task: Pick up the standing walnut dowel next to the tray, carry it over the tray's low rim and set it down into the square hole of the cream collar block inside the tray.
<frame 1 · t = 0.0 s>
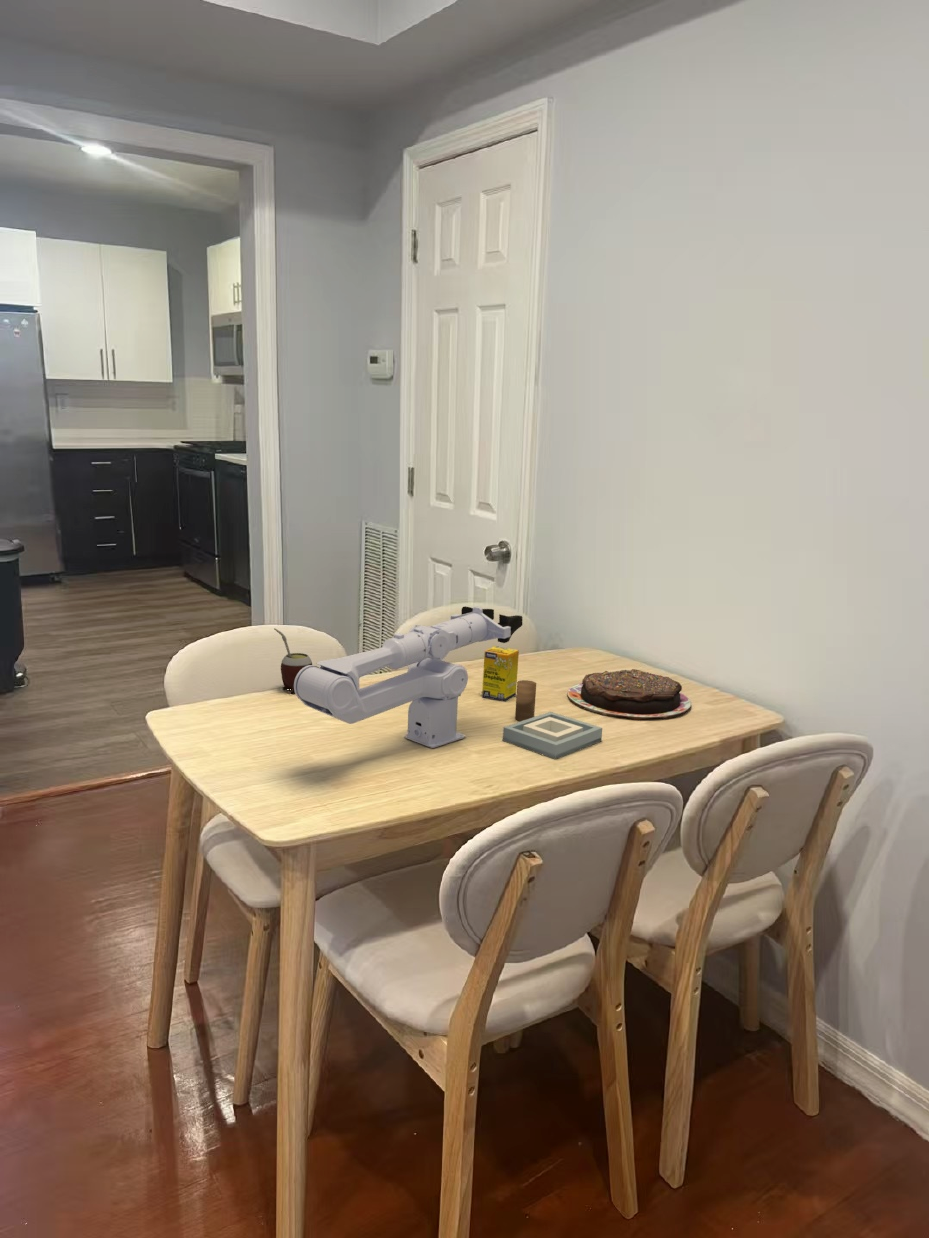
hand: (506, 617, 187), 22 cm above the table, tool horizontal, fingers open, 7 cm apart
walnut peg: (524, 719, 191), on the table
tray: (552, 740, 179), on the table
socket block: (552, 731, 179), in the tray, point 1 cm above the table
supplement box: (499, 697, 206), on the table
chocolate cake: (628, 703, 208), on the table
mate gourd: (295, 691, 204), on the table
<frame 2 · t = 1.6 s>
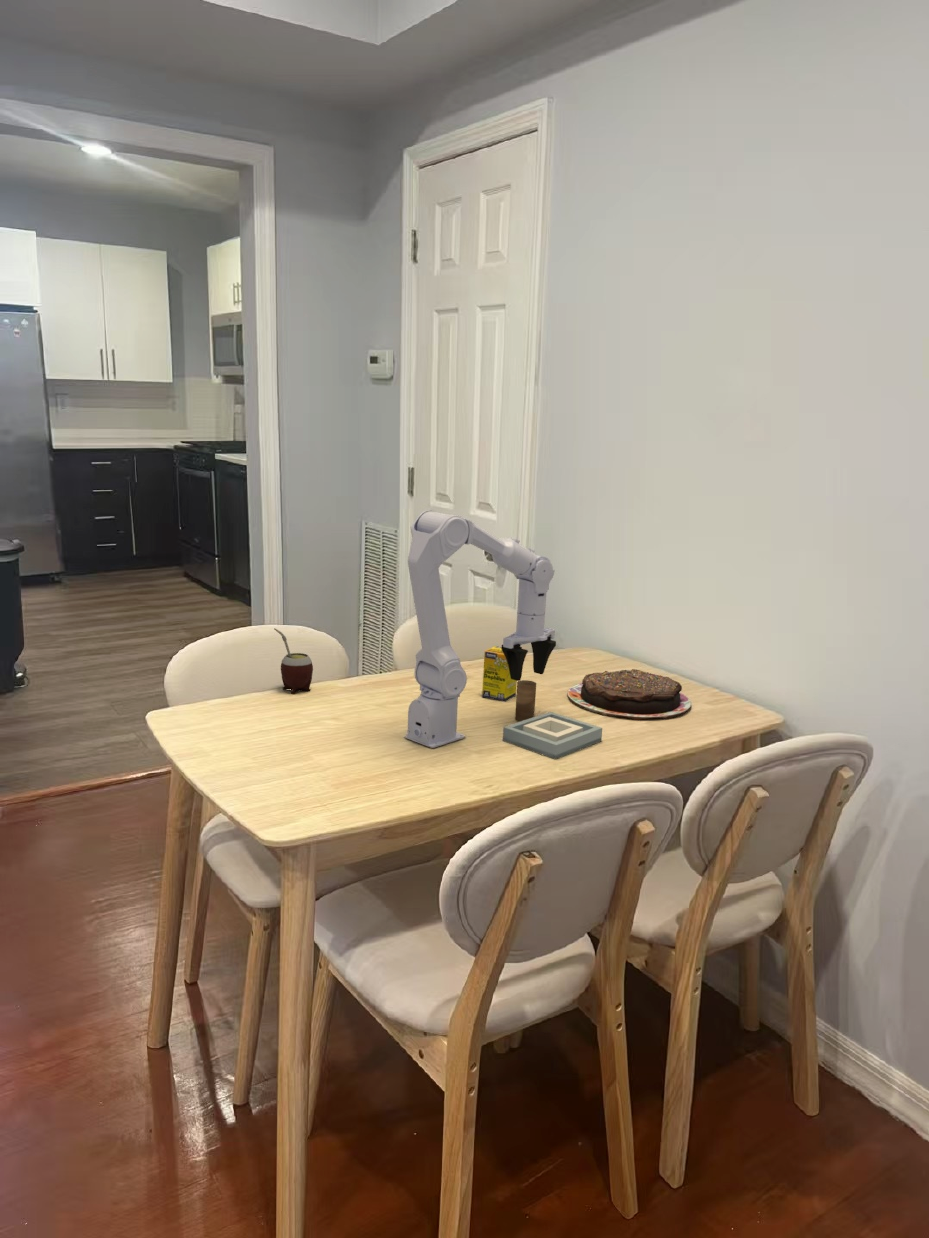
hand: (527, 676, 189), 9 cm above the table, tool pointing down, fingers open, 7 cm apart
nothing on the table moved.
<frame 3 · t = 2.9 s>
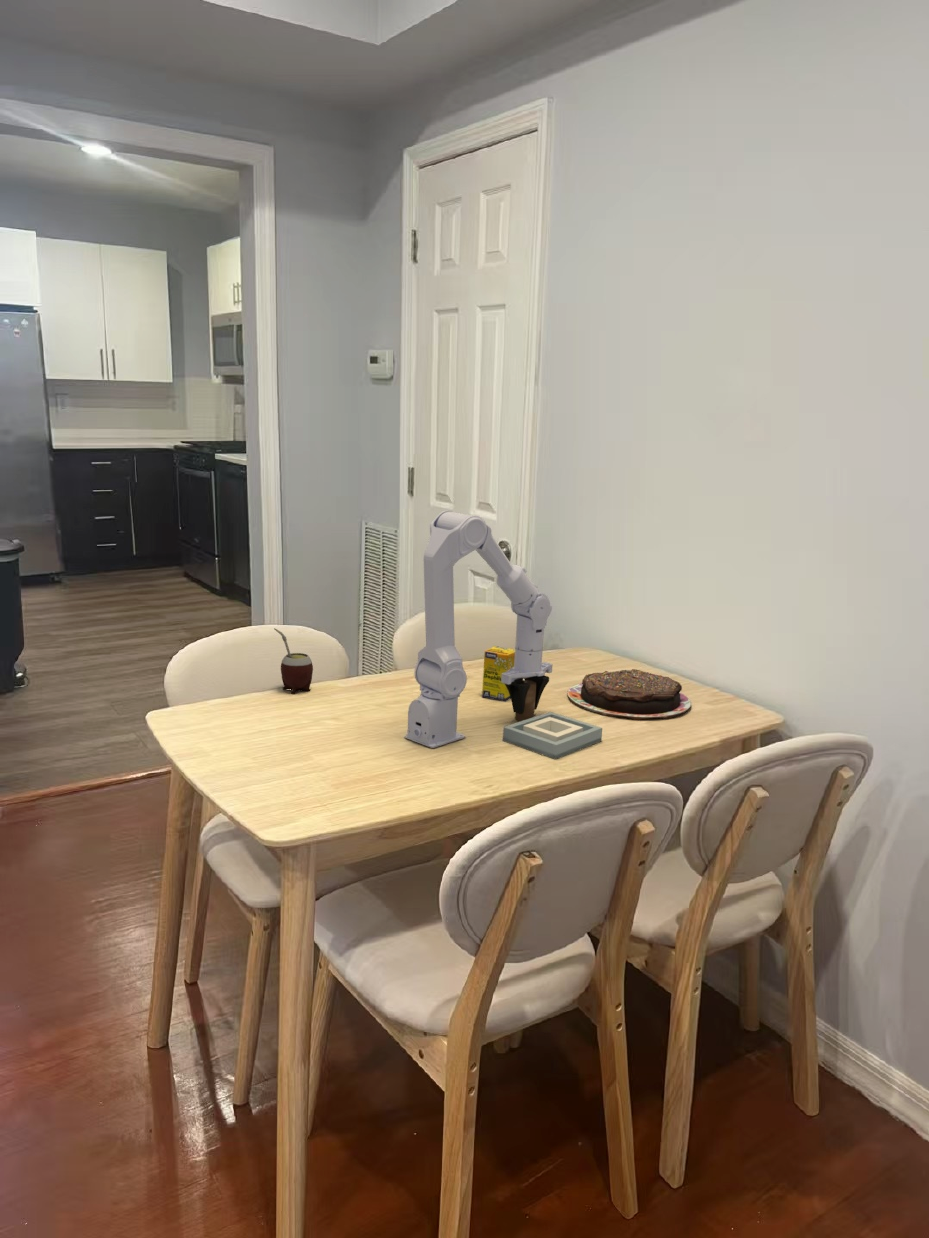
hand: (525, 710, 191), 2 cm above the table, tool pointing down, fingers closed on walnut peg, 4 cm apart
walnut peg: (524, 719, 191), on the table, touching gripper
everything else where it was.
when the fingers open (4 cm above the table, at t = 5.8 s): walnut peg stays where it is, resting on tray.
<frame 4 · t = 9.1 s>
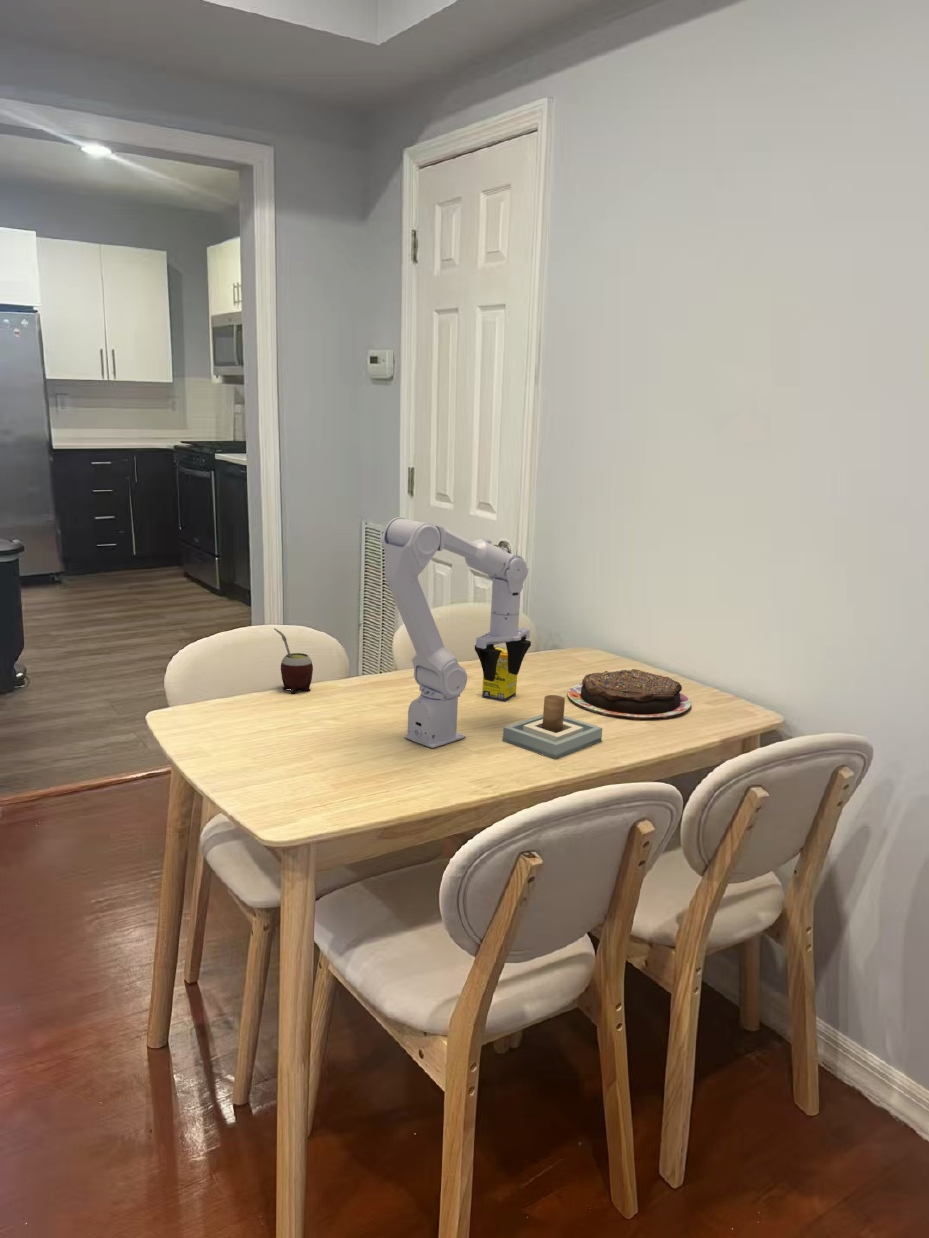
hand: (501, 676, 186), 10 cm above the table, tool pointing down, fingers open, 7 cm apart
walnut peg: (551, 736, 179), point 1 cm above the table, touching tray
everything else where it was.
at the end: walnut peg 0.2 cm off-centre on the socket block, point 0.8 cm above the socket block's base; walnut peg tilted 0°; the gripper is holding nothing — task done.
